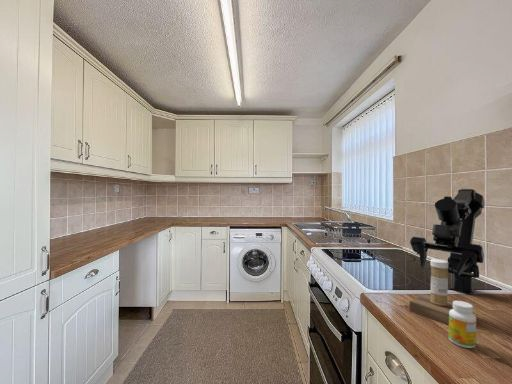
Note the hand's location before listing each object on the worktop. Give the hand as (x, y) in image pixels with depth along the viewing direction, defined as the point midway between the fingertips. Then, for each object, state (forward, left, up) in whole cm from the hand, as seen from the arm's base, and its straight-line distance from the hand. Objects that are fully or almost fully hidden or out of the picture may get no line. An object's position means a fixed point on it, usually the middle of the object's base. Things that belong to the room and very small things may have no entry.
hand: (439, 270), depth 80 cm
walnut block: (-1, 0, -14) cm, 14 cm away
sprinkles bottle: (-2, 0, -11) cm, 11 cm away
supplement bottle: (+12, +10, -14) cm, 20 cm away
